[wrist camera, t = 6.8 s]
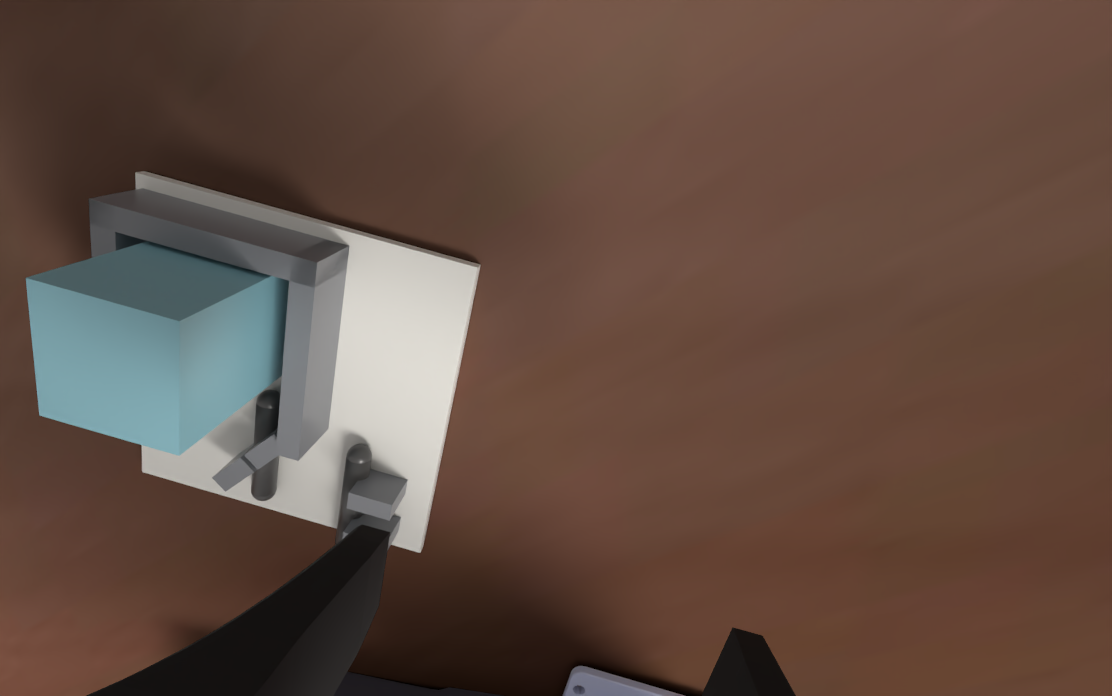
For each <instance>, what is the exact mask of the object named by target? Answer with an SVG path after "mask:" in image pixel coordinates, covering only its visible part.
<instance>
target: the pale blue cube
mask: <svg viewBox="0 0 1112 696" xmlns="http://www.w3.org/2000/svg"><path fill="white" fill-rule="evenodd" d="M26 285H27V296H28V306H29V316H30V326H31V336H32V346H33V356H34V366H35V376H36V386H37V396H38V406H39V416H43V417H46V418H50V419H53V420H57V421H60V422H64V423H67V424H71V425H74V426H77V427H81V428H84V429H88V430H91V431H95V432H98V433H102V434H105V435H109V436H112V437H116V438H119V439H122V440H126V441H129V442H133V443H136V444H140V445H143V446H147V447H150V448H154V449H157V450H160V451H164V452H167V453H171V454H174V455H178V456H180V455H181V454H182V453H184V452H185V451H186V450H187V449H189V448H190V447H191V446H193V445H194V444H195V443H196V442H198V441H199V440H200V439H201V438H203V437H204V436H205V435H207V434H208V433H209V432H210V431H212V430H213V429H214V428H216V427H217V426H218V425H219V424H221V423H222V422H223V421H225V420H226V419H227V418H228V417H230V416H231V415H232V414H233V413H235V412H236V411H237V410H239V409H240V408H241V407H242V406H244V405H245V404H246V403H248V402H249V401H250V400H251V399H253V398H254V397H255V396H256V395H258V394H259V393H260V392H262V391H263V390H264V389H265V388H267V387H268V386H269V385H271V384H272V383H273V382H274V381H276V380H277V379H278V378H280V377H281V376H282V367H283V354H284V341H285V329H286V316H287V303H288V290H289V281H288V280H285V279H281V278H278V277H274V276H271V275H267V274H263V273H260V272H256V271H253V270H249V269H246V268H242V267H239V266H235V265H231V264H228V263H224V262H221V261H217V260H214V259H210V258H207V257H203V256H199V255H196V254H192V253H189V252H185V251H182V250H178V249H175V248H171V247H167V246H164V245H160V244H157V243H153V242H150V241H146V242H143V243H140V244H136V245H133V246H130V247H127V248H123V249H120V250H117V251H113V252H110V253H107V254H103V255H100V256H97V257H93V258H90V259H87V260H83V261H80V262H77V263H73V264H70V265H67V266H63V267H60V268H57V269H54V270H50V271H47V272H44V273H40V274H37V275H34V276H30V277H27V278H26Z"/></svg>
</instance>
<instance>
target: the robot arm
mask: <svg viewBox="0 0 1112 696" xmlns="http://www.w3.org/2000/svg"><path fill="white" fill-rule="evenodd" d="M389 537H390V532H388V531H384V530H381V529H377V528H373V527H370V526H366V525H363V524H362V525H360V526H358V527H356V528H355V529H354V530H352V531H351V532H350V533H349V534H348V535H347V536H345V537H344V538H343V539H342V540H341V541H339V542H338V543H337V544H336V545H335V546H333V547H332V548H331V549H330V550H329V551H327V552H326V553H325V554H324V555H322V556H321V557H320V558H319V559H317V560H316V561H315V562H313V563H312V564H311V565H310V566H308V567H307V568H306V569H304V570H303V571H302V572H300V573H299V574H298V575H296V576H295V577H294V578H292V579H291V580H290V581H288V582H287V583H286V584H284V585H283V586H282V587H280V588H279V589H277V590H276V591H275V592H273V593H272V594H270V595H269V596H267V597H266V598H264V599H263V600H261V601H260V602H258V603H257V604H255V605H254V606H252V607H251V608H249V609H248V610H246V611H245V612H244V613H242V614H241V615H239V616H237V617H236V618H234V619H233V620H231V621H230V622H228V623H226V624H225V625H223V626H222V627H220V628H218V629H217V630H215V631H213V632H212V633H210V634H208V635H206V636H205V637H203V638H201V639H199V640H198V641H196V642H194V643H193V644H191V645H189V646H187V647H185V648H184V649H182V650H180V651H178V652H176V653H174V654H172V655H170V656H168V657H167V658H165V659H163V660H161V661H159V662H157V663H155V664H153V665H151V666H149V667H147V668H145V669H143V670H141V671H139V672H137V673H135V674H133V675H131V676H129V677H127V678H125V679H123V680H121V681H119V682H116V683H114V684H112V685H109V686H107V687H105V688H103V689H100V690H98V691H96V692H93V693H91V694H89V695H87V696H334V694H335V692H336V690H337V689H338V687H339V685H340V683H341V682H342V680H343V678H344V677H345V675H346V673H347V671H348V670H349V668H350V666H351V664H352V663H353V661H354V659H355V657H356V656H357V654H358V652H359V649H360V647H361V645H362V643H363V641H364V638H365V636H366V634H367V632H368V630H369V627H370V625H371V623H372V620H373V618H374V616H375V614H376V611H377V609H378V607H379V602H380V595H381V589H382V582H383V576H384V569H385V563H386V556H387V550H388V543H389ZM577 685H578V686H577ZM580 686H582V687H580ZM563 696H684V695H681V694H678V693H674V692H671V691H667V690H664V689H661V688H657V687H654V686H650V685H647V684H644V683H640V682H637V681H633V680H630V679H627V678H623V677H620V676H616V675H613V674H610V673H606V672H603V671H600V670H596V669H593V668H589V667H586V666H577V667H575V668H573V670H572V671H571V673H570V676H569V679H568V682H567V684H566V687H565V690H564V693H563ZM702 696H796V695H795V694H794V692H793V690H792V688H791V686H790V685H789V683H788V681H787V679H786V677H785V676H784V674H783V672H782V670H781V668H780V666H779V665H778V663H777V661H776V659H775V657H774V656H773V654H772V652H771V650H770V648H769V647H768V645H767V643H766V641H765V639H764V638H763V636H761V635H758V634H754V633H751V632H747V631H743V630H740V629H736V628H732V630H731V632H730V635H729V637H728V639H727V641H726V643H725V645H724V648H723V650H722V652H721V654H720V656H719V659H718V661H717V663H716V665H715V667H714V669H713V672H712V674H711V676H710V678H709V680H708V683H707V685H706V687H705V689H704V691H703V693H702Z"/></svg>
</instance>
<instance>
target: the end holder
mask: <svg viewBox="0 0 1112 696" xmlns="http://www.w3.org/2000/svg"><path fill="white" fill-rule="evenodd" d="M89 215H90V234H91V253H92V258H93V257H97V256H100V255H103V254H107V253H110V252H113V251H117V250H120V249H123V248H127V247H130V246H133V245H136V244H140V243H143V242H146V241H150V242H153V243H157V244H160V245H164V246H167V247H171V248H175V249H178V250H182V251H185V252H189V253H192V254H196V255H199V256H203V257H207V258H210V259H214V260H217V261H221V262H224V263H228V264H231V265H235V266H239V267H242V268H246V269H249V270H253V271H256V272H260V273H263V274H267V275H271V276H274V277H278V278H281V279H285V280H288V281H289V290H288V303H287V316H286V329H285V341H284V354H283V367H282V380H281V393H280V405H279V418H278V431H277V444H276V455H279V456H283V457H286V458H289V459H293V460H296V461H299V460H300V459H301V458H302V457H303V455H304V454H305V453H306V452H307V451H308V450H309V449H310V448H311V447H312V446H313V445H314V444H315V443H316V442H317V441H318V439H319V438H320V437H321V436H322V435H323V434H324V433H325V432H326V431H327V430H328V428H329V419H330V410H331V402H332V393H333V384H334V376H335V367H336V358H337V350H338V341H339V332H340V324H341V315H342V307H343V298H344V289H345V281H346V272H347V263H348V255H349V245H345V244H341V243H338V242H334V241H331V240H327V239H323V238H320V237H316V236H313V235H309V234H305V233H302V232H298V231H295V230H291V229H288V228H284V227H280V226H277V225H273V224H270V223H266V222H262V221H259V220H255V219H252V218H248V217H245V216H241V215H237V214H234V213H230V212H227V211H223V210H219V209H216V208H212V207H209V206H205V205H201V204H198V203H194V202H191V201H187V200H184V199H180V198H176V197H173V196H169V195H166V194H162V193H158V192H155V191H151V190H148V189H144V188H141V189H136V190H131V191H126V192H120V193H115V194H110V195H105V196H100V197H95V198H89Z"/></svg>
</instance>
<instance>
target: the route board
mask: <svg viewBox="0 0 1112 696" xmlns="http://www.w3.org/2000/svg"><path fill="white" fill-rule="evenodd" d="M135 180H136V189H141V188H144V189H148V190H151V191H155V192H158V193H162V194H166V195H169V196H173V197H176V198H180V199H184V200H187V201H191V202H194V203H198V204H201V205H205V206H209V207H212V208H216V209H219V210H223V211H227V212H230V213H234V214H237V215H241V216H245V217H248V218H252V219H255V220H259V221H262V222H266V223H270V224H273V225H277V226H280V227H284V228H288V229H291V230H295V231H298V232H302V233H305V234H309V235H313V236H316V237H320V238H323V239H327V240H331V241H334V242H338V243H341V244H345V245H349V255H348V263H347V272H346V281H345V289H344V298H343V307H342V315H341V324H340V332H339V341H338V350H337V358H336V367H335V376H334V384H333V393H332V402H331V410H330V419H329V428H328V430H327V431H326V432H325V433H324V434H323V435H322V436H321V437H320V438H319V439H318V441H317V442H316V443H315V444H314V445H313V446H312V447H311V448H310V449H309V450H308V451H307V452H306V453H305V454H304V455H303V457H302V458H301V459H300V460H299V461H296V460H293V459H289V458H286V457H283V456H279V455H276V444H277V431H278V418H279V405H280V393H281V380H282V376H281V377H280V378H278V379H277V380H276V381H274V382H273V383H272V384H271V385H269V386H268V387H267V388H265V389H264V390H263V391H262V392H260V393H259V394H258V395H256V396H255V397H254V398H253V399H251V400H250V401H249V402H248V403H246V404H245V405H244V406H242V407H241V408H240V409H239V410H237V411H236V412H235V413H233V414H232V415H231V416H230V417H228V418H227V419H226V420H225V421H223V422H222V423H221V424H219V425H218V426H217V427H216V428H214V429H213V430H212V431H210V432H209V433H208V434H207V435H205V436H204V437H203V438H201V439H200V440H199V441H198V442H196V443H195V444H194V445H193V446H191V447H190V448H189V449H187V450H186V451H185V452H184V453H182V454H181V455H180V456H178V455H174V454H171V453H167V452H164V451H160V450H157V449H154V448H150V447H147V446H143V445H142V472H144V473H147V474H151V475H154V476H158V477H161V478H165V479H168V480H171V481H175V482H178V483H182V484H185V485H189V486H192V487H195V488H199V489H202V490H206V491H209V492H213V493H216V494H219V495H223V496H226V497H230V498H233V499H237V500H240V501H243V502H247V503H250V504H254V505H257V506H261V507H264V508H267V509H271V510H274V511H278V512H281V513H285V514H288V515H291V516H295V517H298V518H302V519H305V520H309V521H312V522H315V523H319V524H322V525H326V526H329V527H333V528H336V529H337V531H336V539H335V544H337V543H338V542H339V541H341V540H342V539H343V538H344V537H345V536H347V535H348V534H349V533H350V532H351V531H352V530H354V529H355V528H356V527H358V526H360V525H362V524H363V525H366V526H370V527H373V528H377V529H381V530H384V531H388V532H390V537H389V543H388V549H389V547H390V545H394V546H398V547H401V548H405V549H408V550H411V551H415V552H418V553H420V552H421V550H422V548H423V546H424V541H425V536H426V531H427V526H428V521H429V516H430V511H431V506H432V501H433V496H434V492H435V487H436V482H437V477H438V472H439V467H440V462H441V457H442V452H443V447H444V443H445V438H446V433H447V428H448V423H449V418H450V413H451V408H452V403H453V398H454V393H455V389H456V384H457V379H458V374H459V369H460V364H461V359H462V354H463V349H464V344H465V339H466V335H467V330H468V325H469V320H470V315H471V310H472V305H473V300H474V295H475V290H476V285H477V281H478V276H479V271H480V266H481V265H480V264H477V263H473V262H470V261H466V260H462V259H459V258H455V257H452V256H448V255H444V254H441V253H437V252H434V251H430V250H427V249H423V248H419V247H416V246H412V245H409V244H405V243H401V242H398V241H394V240H391V239H387V238H383V237H380V236H376V235H373V234H369V233H365V232H362V231H358V230H355V229H351V228H347V227H344V226H340V225H337V224H333V223H329V222H326V221H322V220H319V219H315V218H311V217H308V216H304V215H301V214H297V213H293V212H290V211H286V210H283V209H279V208H275V207H272V206H268V205H265V204H261V203H257V202H254V201H250V200H247V199H243V198H239V197H236V196H232V195H229V194H225V193H222V192H218V191H214V190H211V189H207V188H204V187H200V186H196V185H193V184H189V183H186V182H182V181H178V180H175V179H171V178H168V177H164V176H160V175H157V174H153V173H150V172H146V171H141V172H135ZM387 551H388V550H387Z"/></svg>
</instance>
